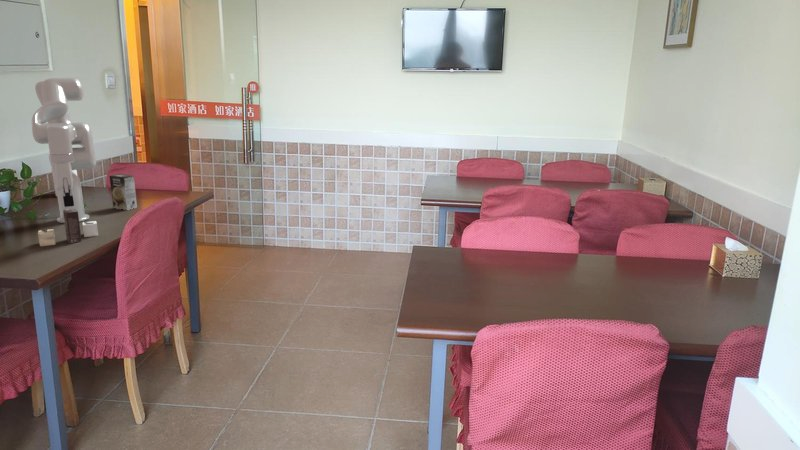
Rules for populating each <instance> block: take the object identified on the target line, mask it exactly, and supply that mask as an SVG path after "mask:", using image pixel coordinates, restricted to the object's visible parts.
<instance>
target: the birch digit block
mask: <svg viewBox="0 0 800 450" xmlns="http://www.w3.org/2000/svg"><path fill="white" fill-rule="evenodd" d="M37 237H38V242H39V247H46V246H54V245H56V235H55V230H54V228H53V229H52V228H51V229H41V230H38V233H37Z"/></svg>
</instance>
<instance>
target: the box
mask: <svg viewBox="0 0 800 450" xmlns="http://www.w3.org/2000/svg"><path fill="white" fill-rule="evenodd" d="M63 213H64V221H65V223H64V228H65V235H66V236H65V237H66V240H67V242H68V243H70V244H71V243H72V244H75V243H78V242H82V234H81V233H82V232H81V225H80V222H79V216H78V211H77V210H75V209H69V210H63Z"/></svg>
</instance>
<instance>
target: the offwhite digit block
mask: <svg viewBox="0 0 800 450" xmlns="http://www.w3.org/2000/svg"><path fill="white" fill-rule="evenodd" d="M81 222H82V229H83V237H84V238H90V237H98V236H99V231H98V223H97V221H96V220H92V221H81Z"/></svg>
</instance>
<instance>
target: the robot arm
mask: <svg viewBox="0 0 800 450" xmlns="http://www.w3.org/2000/svg"><path fill="white" fill-rule="evenodd" d="M34 87H35V94H36V96H37V99H38V100H39V103H40V104H41V106H39V108H38V109H37V110H36V111H35V112H34V114H32V117H31V133H32V137H33V139H34V142H36V143H37V144H41V145H43V144H44V145H45V144H48V149H49V154H48V159H49V164H50V166H51V168H52V169H51V171H52V170H53V174H54V178H55V184H56V190H57V196H56V197H57V203H58V208H59V217H57V218H56V221H57V223H61V224H65V221H64V213H63V210H69V209H75V210H77V211H78V216H79V223H80V222H85V221H88V219H90V215H89V214H88V213H86V211H85V206H84V198H83V191H82V183H81V179H80V177H79V176H78V174H77V175H76V174H74V173H73V172H72V170H91V169H93V168H95V166H96V165H97V159H96V157H97V156H96V152H95V146H94V140H93V139H94V138H93V134H92V133H93V132H92V129H91V127H90V126H89V125H90V124H87V122H71V121H72V120H71V116H70V111H69V102H70V101H71V102H72V101H73V102H74V101H75V102H76V101H82V99H83V98H84V86H83V84H82V82H81V81H80V79H78V78H76V77H75V78H73V77H69V78H68V77H66V78H65V77H57V78H55V77H51V78H46V79H45V80H42V81H38V82H37V83H35V85H34ZM73 146H79V147H73ZM80 146H81V147H80Z"/></svg>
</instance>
